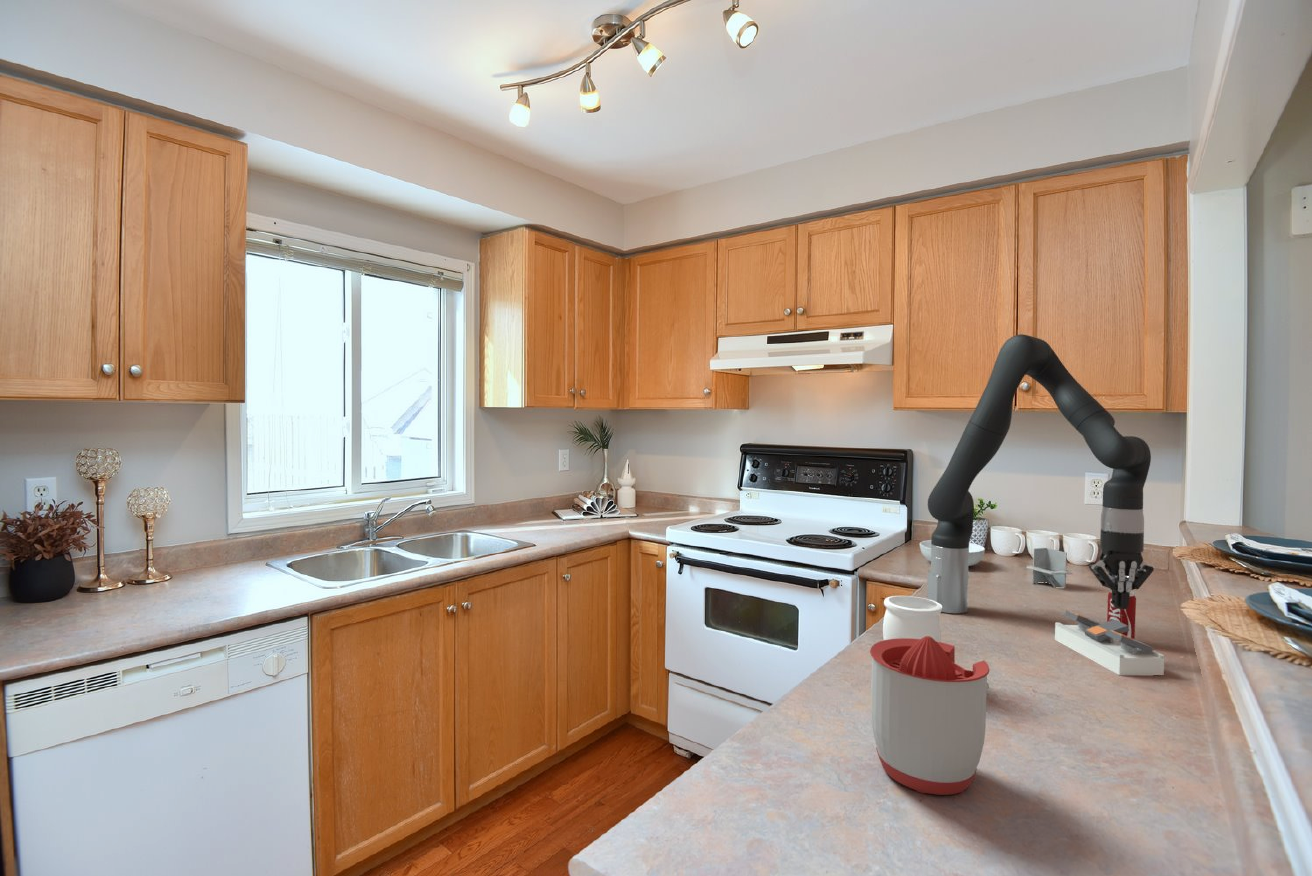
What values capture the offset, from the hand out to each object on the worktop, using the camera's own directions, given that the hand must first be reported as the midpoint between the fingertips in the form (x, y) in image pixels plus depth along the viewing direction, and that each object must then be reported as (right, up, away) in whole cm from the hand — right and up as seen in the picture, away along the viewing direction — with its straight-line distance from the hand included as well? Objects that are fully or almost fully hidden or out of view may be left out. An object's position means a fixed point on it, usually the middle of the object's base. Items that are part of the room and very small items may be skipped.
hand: (1120, 608), depth 135 cm
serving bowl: (+4, -8, +85) cm, 86 cm away
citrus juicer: (-61, -12, -45) cm, 77 cm away
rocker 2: (-3, -5, -6) cm, 9 cm away
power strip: (-3, -10, +3) cm, 11 cm away
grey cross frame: (+21, -10, +58) cm, 62 cm away
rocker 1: (-3, -5, +7) cm, 9 cm away
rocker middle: (-3, -5, 0) cm, 6 cm away
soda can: (+7, -11, +10) cm, 16 cm away
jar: (-50, -11, -12) cm, 53 cm away
